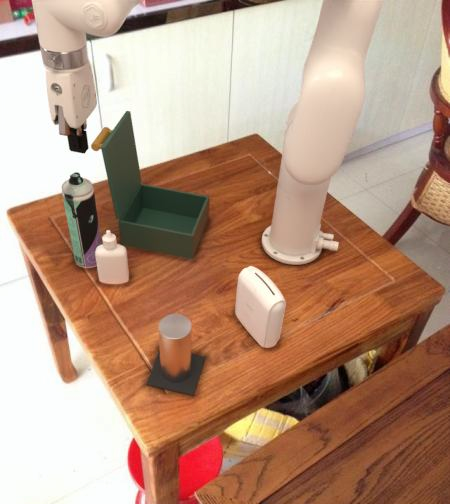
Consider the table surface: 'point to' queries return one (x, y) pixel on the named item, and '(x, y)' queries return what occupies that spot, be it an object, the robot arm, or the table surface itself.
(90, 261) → the spray can
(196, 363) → the coaster
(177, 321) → the tin can
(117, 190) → the lid
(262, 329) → the photo printer
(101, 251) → the eye dropper bottle
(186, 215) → the chest
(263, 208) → the table surface
